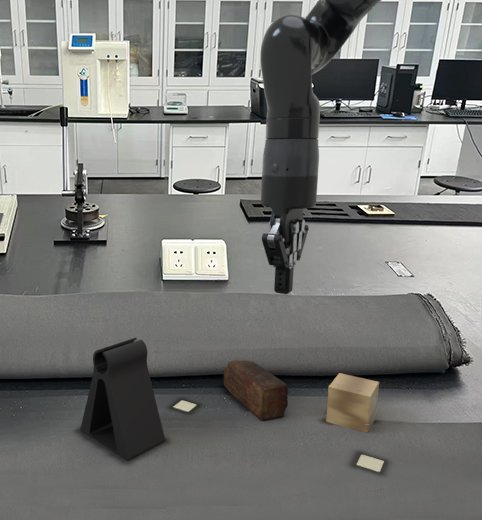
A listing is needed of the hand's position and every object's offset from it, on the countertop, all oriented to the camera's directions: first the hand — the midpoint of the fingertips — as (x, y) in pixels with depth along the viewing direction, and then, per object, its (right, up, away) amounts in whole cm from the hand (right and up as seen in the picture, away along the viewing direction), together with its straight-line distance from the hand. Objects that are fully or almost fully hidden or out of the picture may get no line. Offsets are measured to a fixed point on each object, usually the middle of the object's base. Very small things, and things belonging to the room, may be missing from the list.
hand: (283, 292), depth 78 cm
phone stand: (-23, -17, -13) cm, 31 cm away
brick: (-5, -15, -4) cm, 17 cm away
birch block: (+6, -16, -9) cm, 19 cm away
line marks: (-5, -17, -12) cm, 21 cm away
